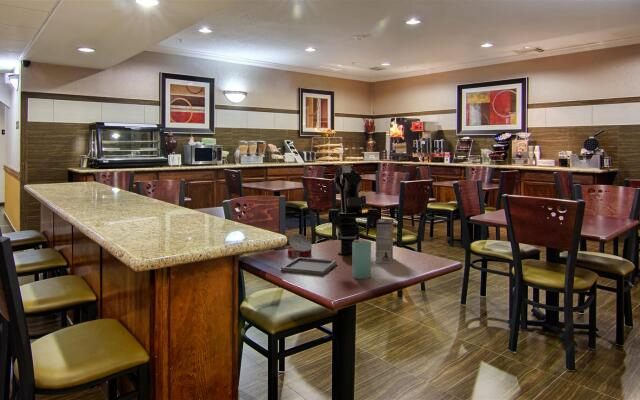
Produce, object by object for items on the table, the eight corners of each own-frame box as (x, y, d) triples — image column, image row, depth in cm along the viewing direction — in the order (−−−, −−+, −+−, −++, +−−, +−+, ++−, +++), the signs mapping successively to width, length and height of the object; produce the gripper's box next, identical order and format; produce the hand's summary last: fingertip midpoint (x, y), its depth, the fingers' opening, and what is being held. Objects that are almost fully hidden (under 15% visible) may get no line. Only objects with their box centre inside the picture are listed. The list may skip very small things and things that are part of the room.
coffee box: (377, 257, 188) (377, 218, 186) (393, 258, 186) (393, 218, 184) (375, 263, 179) (375, 222, 177) (391, 263, 177) (392, 222, 175)
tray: (298, 261, 182) (298, 257, 182) (336, 264, 177) (336, 260, 176) (281, 271, 167) (281, 267, 167) (322, 275, 162) (322, 271, 162)
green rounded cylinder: (355, 273, 165) (355, 240, 164) (372, 274, 163) (372, 241, 161) (350, 277, 159) (350, 243, 158) (368, 279, 157) (368, 245, 155)
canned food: (307, 263, 196) (318, 243, 196) (304, 267, 186) (316, 246, 186) (284, 251, 197) (295, 230, 196) (280, 254, 187) (291, 232, 186)
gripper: (328, 188, 169) (330, 225, 160) (379, 187, 169) (383, 224, 161) (327, 204, 178) (328, 240, 169) (375, 203, 179) (379, 239, 170)
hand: (354, 235), depth 167 cm, fingers open, 9 cm apart
